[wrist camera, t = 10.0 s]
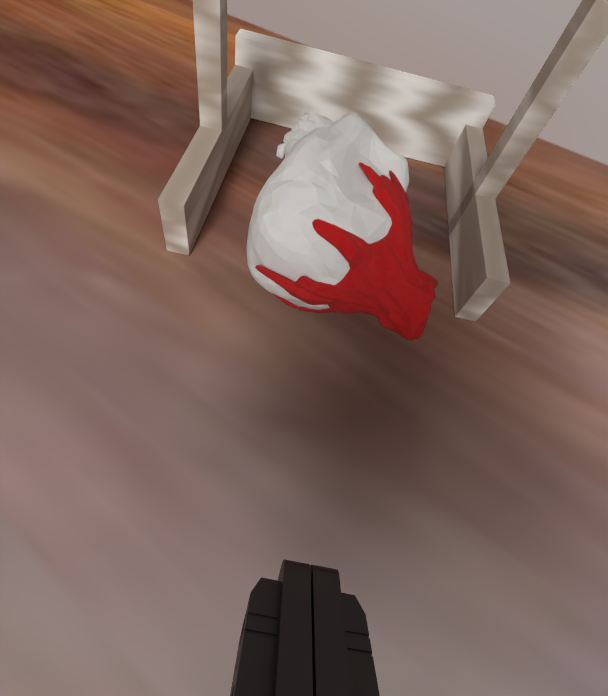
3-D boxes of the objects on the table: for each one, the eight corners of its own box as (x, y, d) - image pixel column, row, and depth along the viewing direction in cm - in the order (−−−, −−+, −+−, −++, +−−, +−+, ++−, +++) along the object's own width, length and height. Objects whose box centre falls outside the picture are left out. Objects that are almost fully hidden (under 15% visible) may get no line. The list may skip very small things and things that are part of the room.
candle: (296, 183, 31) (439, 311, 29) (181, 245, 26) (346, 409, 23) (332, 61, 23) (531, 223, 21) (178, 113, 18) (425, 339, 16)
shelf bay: (458, 161, 38) (659, -215, 20) (475, 321, 27) (931, -177, 10) (238, 105, 37) (248, -345, 19) (167, 250, 26) (38, -467, 8)
